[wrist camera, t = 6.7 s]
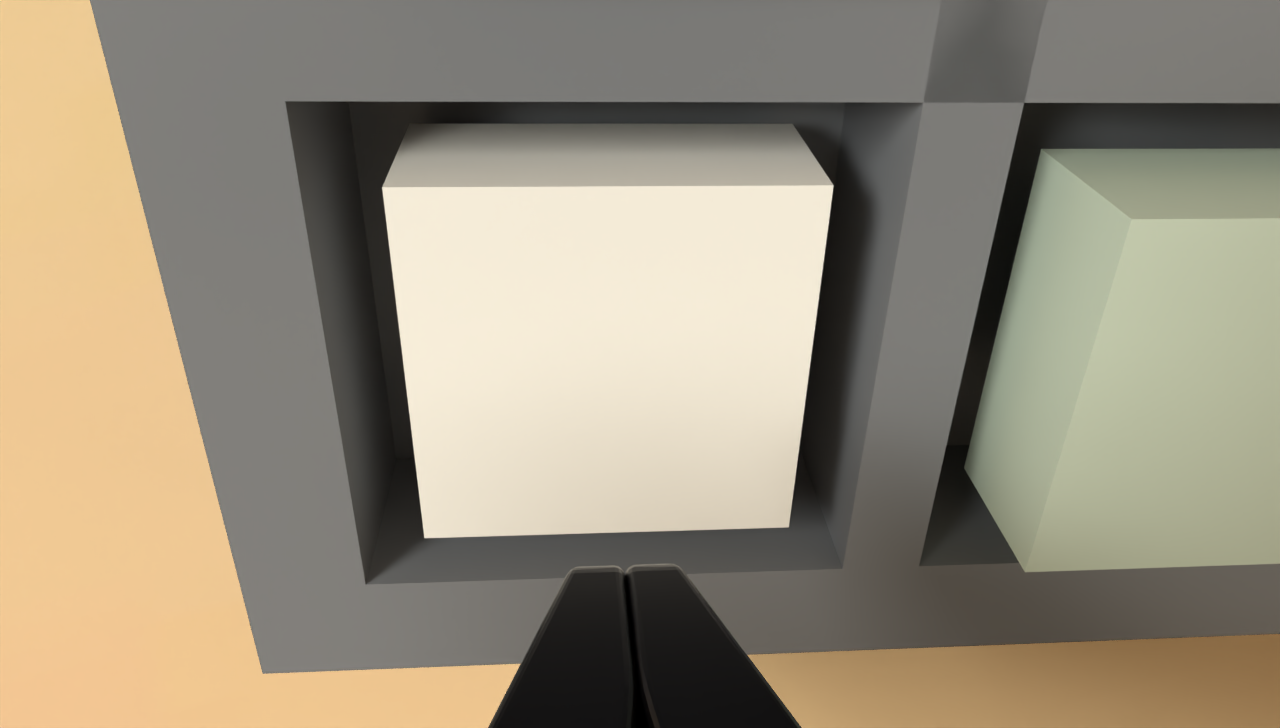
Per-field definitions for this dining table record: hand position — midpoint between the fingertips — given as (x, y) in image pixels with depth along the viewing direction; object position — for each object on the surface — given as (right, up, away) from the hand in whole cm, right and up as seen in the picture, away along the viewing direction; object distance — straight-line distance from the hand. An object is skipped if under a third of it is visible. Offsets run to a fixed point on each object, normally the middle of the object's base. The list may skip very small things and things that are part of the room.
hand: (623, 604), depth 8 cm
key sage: (+7, +2, +4) cm, 8 cm away
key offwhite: (0, +3, +5) cm, 6 cm away
